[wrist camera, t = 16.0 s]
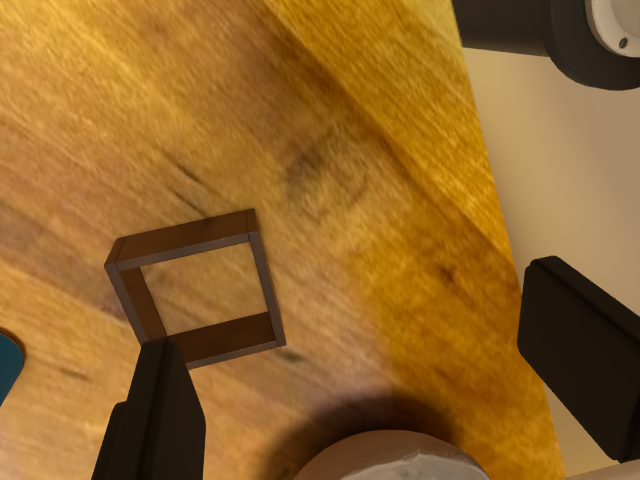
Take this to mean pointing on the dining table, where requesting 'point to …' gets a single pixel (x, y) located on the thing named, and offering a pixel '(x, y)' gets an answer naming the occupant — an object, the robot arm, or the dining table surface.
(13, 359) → the beverage can
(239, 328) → the crate
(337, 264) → the dining table surface
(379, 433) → the bowl
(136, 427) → the robot arm
